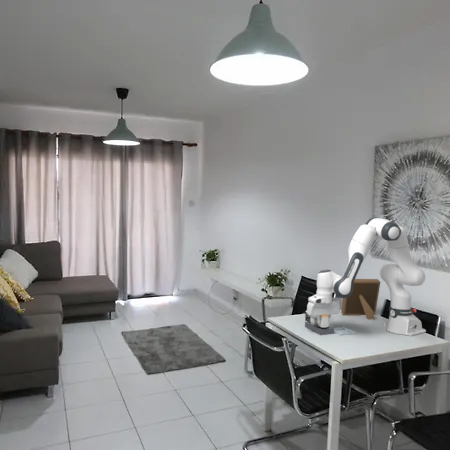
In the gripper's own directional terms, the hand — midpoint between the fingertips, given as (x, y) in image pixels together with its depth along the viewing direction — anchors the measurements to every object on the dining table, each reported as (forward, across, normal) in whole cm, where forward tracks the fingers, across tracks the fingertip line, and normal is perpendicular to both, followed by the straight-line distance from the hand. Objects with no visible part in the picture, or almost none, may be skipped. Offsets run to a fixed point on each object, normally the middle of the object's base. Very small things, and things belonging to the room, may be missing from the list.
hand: (323, 322), depth 238 cm
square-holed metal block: (+7, 0, -4) cm, 8 cm away
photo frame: (+7, -45, -23) cm, 51 cm away
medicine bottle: (+7, -7, -21) cm, 23 cm away
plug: (+2, 0, 0) cm, 2 cm away
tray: (+7, -11, +3) cm, 13 cm away
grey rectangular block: (+6, 0, -8) cm, 10 cm away
